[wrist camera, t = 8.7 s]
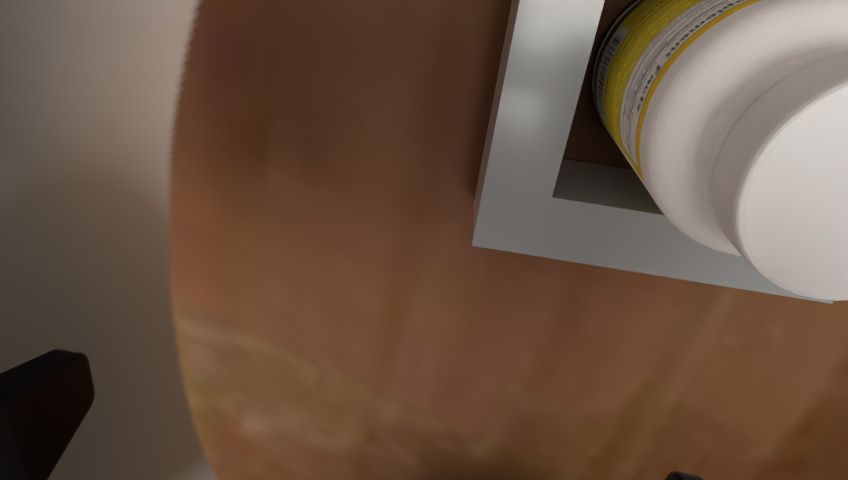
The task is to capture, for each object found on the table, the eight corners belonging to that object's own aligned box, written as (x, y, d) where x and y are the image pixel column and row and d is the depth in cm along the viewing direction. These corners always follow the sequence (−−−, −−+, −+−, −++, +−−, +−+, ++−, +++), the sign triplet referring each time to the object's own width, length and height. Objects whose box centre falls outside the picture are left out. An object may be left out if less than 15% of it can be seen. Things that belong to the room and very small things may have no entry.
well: (778, 246, 19) (832, 303, 16) (474, 198, 20) (471, 245, 17) (969, -120, 14) (1105, -136, 11) (544, -177, 14) (560, -209, 11)
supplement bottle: (802, 88, 17) (1127, 243, 8) (638, 181, 19) (762, 382, 10) (730, -72, 15) (1051, -88, 6) (557, 49, 17) (626, 160, 8)
